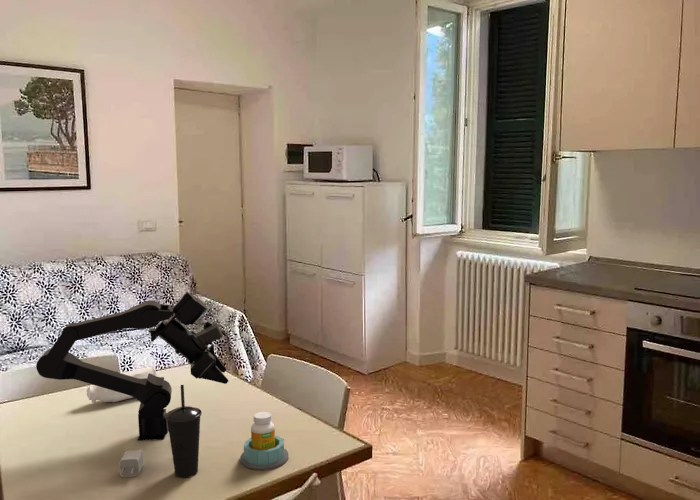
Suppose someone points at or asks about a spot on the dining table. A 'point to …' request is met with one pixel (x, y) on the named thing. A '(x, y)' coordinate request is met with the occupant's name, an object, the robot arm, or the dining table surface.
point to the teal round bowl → (264, 456)
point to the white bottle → (113, 396)
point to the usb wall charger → (131, 463)
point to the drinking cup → (184, 438)
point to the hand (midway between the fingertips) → (226, 376)
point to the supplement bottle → (262, 432)
